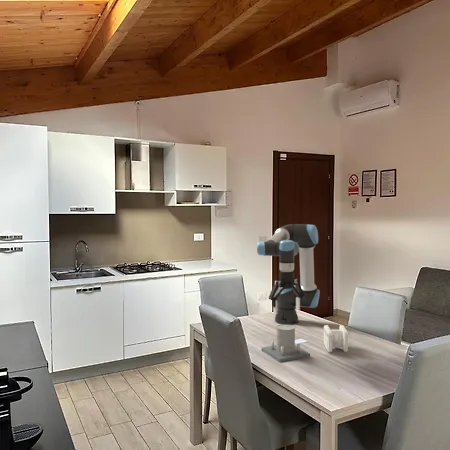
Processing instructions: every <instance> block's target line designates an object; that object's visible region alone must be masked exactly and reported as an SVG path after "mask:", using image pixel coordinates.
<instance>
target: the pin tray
mask: <svg viewBox="0 0 450 450" xmlns="http://www.w3.org/2000/svg"><path fill="white" fill-rule="evenodd" d="M261 351H262V352H263V353H265V354H266V355H268V356H269V357H271V358H272V359H274V360H276V362H278V363H282V362H288V361H292V360H298V359H299V360H300V359H303V358H304V359H305V358H310V357H311V353H310V352H308V351H306V350H305V349H302V348H301V344H300V343H297V344H296V345H295V352H294V353H291V354H284V347H281V353H279V352H277V351H276V345H275V341H273V340H272V341H271V342H270V346H264V347H261Z"/></svg>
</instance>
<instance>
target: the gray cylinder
mask: <svg viewBox="0 0 450 450" xmlns="http://www.w3.org/2000/svg"><path fill="white" fill-rule="evenodd" d="M295 333H296V326H295V325H293V324H278V325H277V326H276V340H275V341H276V351H277V352H279V353H281V347H284V354H291V353H294V352H295V346H296V341H295V340H296V338H295V337H296V334H295Z"/></svg>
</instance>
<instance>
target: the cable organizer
mask: <svg viewBox="0 0 450 450" xmlns="http://www.w3.org/2000/svg"><path fill="white" fill-rule="evenodd" d="M323 345H324V347H325V348H326V351H327V352H328V353H333V350H334V351H335V350H336V348H339V350H342V351H343V352H344V353H348V352H349V349H348V348H349V333H348V331H347V329H346V327H345V326H344V324H339V329H331V328H330V327H329V325H328V324H326V325H324V326H323Z"/></svg>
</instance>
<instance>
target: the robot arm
mask: <svg viewBox="0 0 450 450" xmlns="http://www.w3.org/2000/svg"><path fill="white" fill-rule="evenodd" d="M317 244H319V232H318V228H317V226H316V225H315V224H309V223H308V224H306V223H300V224H299V223H298V224H297V223H296V224H295V223H292V224H286V225H282V226H281V227H278V228H277V229H276V230H275V231H274V234H272V236H271V237H269V238H268V239H267V240H265V241H264V240H263V241H258V242H257V246H256V252H257V255H259V256H267V257H270V256H271V257H272V256H273V257H279V268H278V269H279V280H274V281H273V286H272V288H271V290H270V294H269V296H268V299H269V300H271V307H272V310H273V311H272V312H273V314H275V317H274V322H275V323H277V324H279V325H283V324H286V325H294V324H297V323H299V316H298V314H297V311H298V312H300V311H301V307H302V308H309V309H311V308H312V309H315V308H317V307H318V304H319V299H320V293H321V291H320V289H318V288H317V287H318V286H317V285H316V283H315V264H314V263H315V260H314V259H315V258H314V248H315V247H316V246H317ZM298 254H299V275H300V278H299V279H298V278H295V271H294V270H295V257H296V256H297V255H298ZM294 284H295V285H294Z"/></svg>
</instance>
